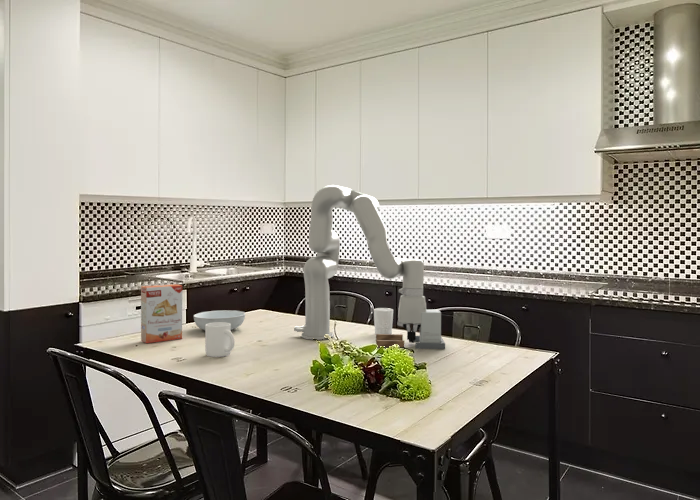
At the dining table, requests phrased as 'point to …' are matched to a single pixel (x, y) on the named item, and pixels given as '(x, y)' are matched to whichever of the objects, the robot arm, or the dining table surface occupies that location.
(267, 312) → the dining table surface
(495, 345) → the dining table surface
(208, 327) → the mug
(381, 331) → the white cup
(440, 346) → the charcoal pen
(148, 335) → the cracker box
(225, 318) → the serving bowl
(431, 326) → the supplement box
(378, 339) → the walnut rails
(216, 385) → the dining table surface
